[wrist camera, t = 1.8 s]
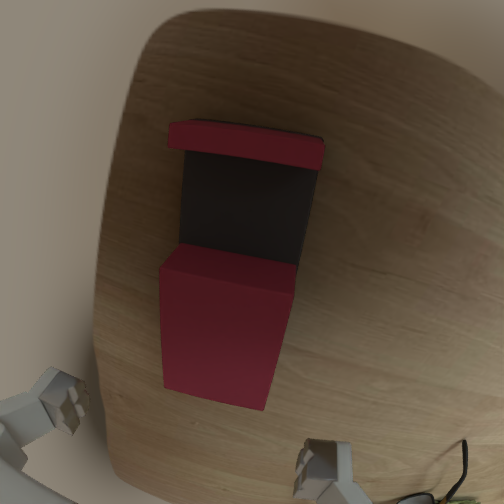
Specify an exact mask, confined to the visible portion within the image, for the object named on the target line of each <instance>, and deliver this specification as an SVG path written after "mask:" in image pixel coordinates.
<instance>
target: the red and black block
mask: <svg viewBox="0 0 504 504" xmlns="http://www.w3.org/2000/svg"><path fill="white" fill-rule="evenodd" d="M323 142H324V140H323V138H322V137H319V136H314V135H309V134H304V133H298V132H293V131H287V130H281V129H275V128H269V127H262V126H255V125H248V124H241V123H233V122H225V121H216V120H206V119H190V120H186V121H180V122H173V123H170V125H169V135H168V148H173V149H182V150H185V159H184V171H183V184H182V199H181V215H180V234H179V245H178V247H177V248H176V249H175V250H174V251H173V252H172V254H171V255H170V256H169V257H168V258H167V260H166V261H165V262H164V263H163V264H162V266H161V267H160V268H159V292H160V326H161V348H162V364H163V379H164V387H165V388H167V389H171V390H174V391H178V392H181V393H185V394H189V395H193V396H197V397H201V398H205V399H209V400H213V401H217V402H221V403H226V404H230V405H235V406H240V407H245V408H250V409H255V410H260V411H263V410H264V407H265V404H266V400H267V397H268V393H269V390H270V386H271V383H272V379H273V375H274V372H275V368H276V364H277V361H278V357H279V353H280V349H281V346H282V342H283V338H284V334H285V330H286V326H287V322H288V319H289V315H290V311H291V307H292V302H293V298H294V290H295V278H296V273H297V269H298V265H299V260H300V256H301V251H302V247H303V242H304V237H305V233H306V228H307V224H308V219H309V214H310V209H311V204H312V199H313V195H314V190H315V184H316V179H317V174H318V171H320V170H321V166H322V161H323V156H324V150H325V145H324V143H323Z"/></svg>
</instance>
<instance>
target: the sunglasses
mask: <svg viewBox="0 0 504 504" xmlns="http://www.w3.org/2000/svg"><path fill="white" fill-rule="evenodd" d="M462 451H463V474H462V476H461V478H460V479H459V481H458V482H457V483H456V484H455V485H454V486H453V487H452V488H451V490H450V491H449V492H448V494H447V495H446V496H445V497H444V499H443V500H442V501H441V503H440V504H447V503H448V501H449V500H450V499H451V498H452V496H453V495H454V494H455V492H456V491H457V490H458V488H459V487H460V485H461V484H462V482H463V481H464V479H465V477H466V475H467V467H468V446H467V442H466V440H463V442H462ZM396 504H435V500H434V497H433V495H432V494H430V493H422V494H417V495H413V496H410V497H407V498H404V499H402V500H400V501H398V502H397V503H396Z"/></svg>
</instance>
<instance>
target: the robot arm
mask: <svg viewBox="0 0 504 504" xmlns="http://www.w3.org/2000/svg"><path fill="white" fill-rule="evenodd" d="M85 388H86V384H85V382H84V381H83V380H81V379H78V378H76V377H74V376H71V375H69V374H67V373H65V372H63V371H60V370H58V369H56V368H54V367H50V368H48V369H47V370H46V371H45V372H44V374H43V375H42V376H41V377H40V379H39V380H38V381H37V382H36V383H35V385H34V386H33V387H32V388H31V390H30V391H29V392H28V393H27V392H23V393H21V394H18V395H16V396H13V397H10V398H8V399H5V400H2V401H0V504H78V503H76V502H74V501H72V500H70V499H68V498H66V497H64V496H62V495H60V494H59V493H57V492H55V491H53V490H52V489H50V488H48V487H46V486H45V485H43V484H41V483H39V482H38V481H36V480H35V479H33V478H31V477H30V476H28V475H27V474H25V473H24V472H22V471H21V470H22V468H23V467H24V465H25V464H26V462H27V460H28V458H27V455H26V454H25V453H24V452H23V450H22V449H21V448H22V447H23V446H25V445H27V444H29V443H31V442H33V441H34V440H36V439H38V438H40V437H42V436H43V435H45V434H47V433H48V432H50V431H52V430H54V429H55V428H57V429H59V430H62V431H63V432H66V433H68V434H70V435H73V434H74V432H75V431H76V429H77V428H78V426H79V424H80V420H79V418H80V417H83V416H85V415H86V413H87V411H88V409H89V406H90V396H89V394H88V393H87V391H86V390H85ZM295 472H296V474H297V475H298V477H297V479H296V480H295V482H294V492H293V498H300V499H309V500H316V502H317V504H373V503H372V502H371V500H370V499H369V498H368V496H367V495H366V494H365V492H364V491H363V490H362V489H361V487H360V486H359V485H358V483H357V482H353V473H352V451H351V444H350V442H343V441H333V440H320V439H310V438H308V439H306V441H305V442H304V448H303V449H301V450H300V452H299V455H298V458H297V462H296V470H295Z"/></svg>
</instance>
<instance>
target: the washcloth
mask: <svg viewBox="0 0 504 504" xmlns="http://www.w3.org/2000/svg"><path fill="white" fill-rule="evenodd" d="M440 503H441V502H438V501H435V504H440ZM447 504H480V502H476V500H473V501H469V500H468V501H467V500H464V501H448V503H447Z"/></svg>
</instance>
